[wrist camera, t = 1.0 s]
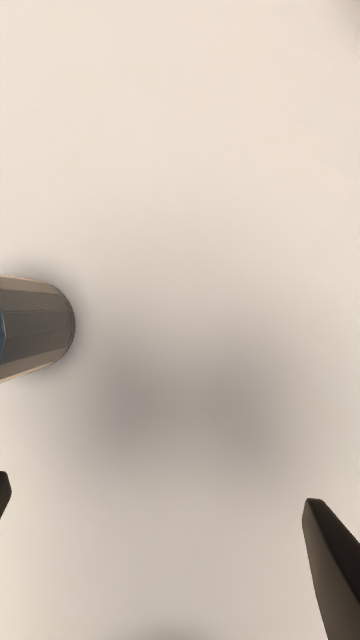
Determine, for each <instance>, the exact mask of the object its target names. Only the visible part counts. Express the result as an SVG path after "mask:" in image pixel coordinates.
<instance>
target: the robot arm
mask: <svg viewBox="0 0 360 640" xmlns="http://www.w3.org/2000/svg"><path fill="white" fill-rule="evenodd" d="M11 493H12V490H11V486H10V483H9V479H8V475H7V473H6V472H4V471H0V518H1V516H2V514H3V512H4V510H5V508H6V506H7V504H8V502H9V500H10V497H11ZM302 527H303V533H304V538H305V543H306V548H307V553H308V559H309V564H310V569H311V574H312V579H313V584H314V589H315V594H316V598H317V602H318V606H319V609H320V613H321V616H322V620H323V623H324V627H325V630H326V634H327V637H328V640H360V543H359V542H358V541H357V540H356V538H355V537H354V536H353V535H352V534H351V533H350V531H349V530H348V529H347V528H346V527H345V526H344V524H343V523H342V522H341V521H340V520H339V519H338V517H337V516H336V515H335V514H334V513H333V512H332V510H331V509H330V508H329V507H328V506H327V505H326V503H325V502H324V501H322V500H321V499H313V498H307V499H306V501H305V505H304V511H303V516H302Z"/></svg>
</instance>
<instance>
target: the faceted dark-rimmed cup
mask: <svg viewBox="0 0 360 640" xmlns="http://www.w3.org/2000/svg"><path fill="white" fill-rule="evenodd" d="M74 332H75V319H74V314H73V311H72V308H71V306H70V303H69V302H68V300H67V299H66V297H65V296H64V295H63V294H62V293H61V292H60V291H59V290H58V289H57V288H55V287H54V286H52V285H50V284H48V283H45V282H42V281H37V280H33V279H29V278H22V277H16V276H10V275H4V274H0V383H3V382H6V381H9V380H11V379H14V378H17V377H20V376H23V375H25V374H28V373H31V372H34V371H36V370H39V369H42V368H44V367H46V366H48V365H50V364H52V363H54V362H56V361H57V360H59V359H60V358H61V357H62V356H63V355H64V354H65V353H66V352H67V350H68V348H69V347H70V345H71V343H72V340H73V337H74Z"/></svg>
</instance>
